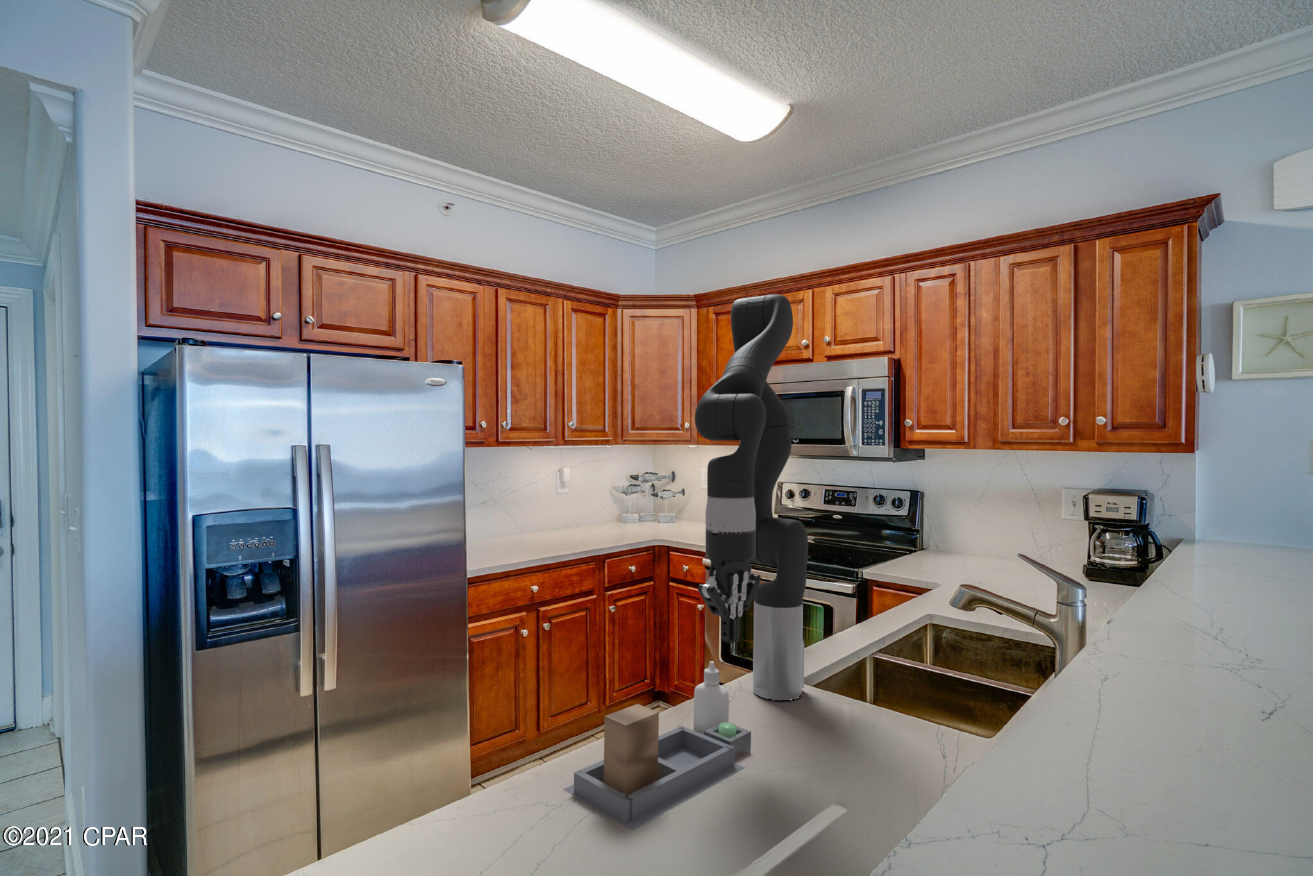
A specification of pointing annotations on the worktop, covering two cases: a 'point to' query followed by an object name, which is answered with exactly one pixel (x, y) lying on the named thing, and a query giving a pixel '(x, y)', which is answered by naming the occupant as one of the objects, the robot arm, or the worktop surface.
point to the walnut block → (631, 749)
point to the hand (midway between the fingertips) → (730, 641)
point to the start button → (727, 729)
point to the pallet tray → (660, 778)
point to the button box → (733, 739)
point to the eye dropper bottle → (710, 701)
